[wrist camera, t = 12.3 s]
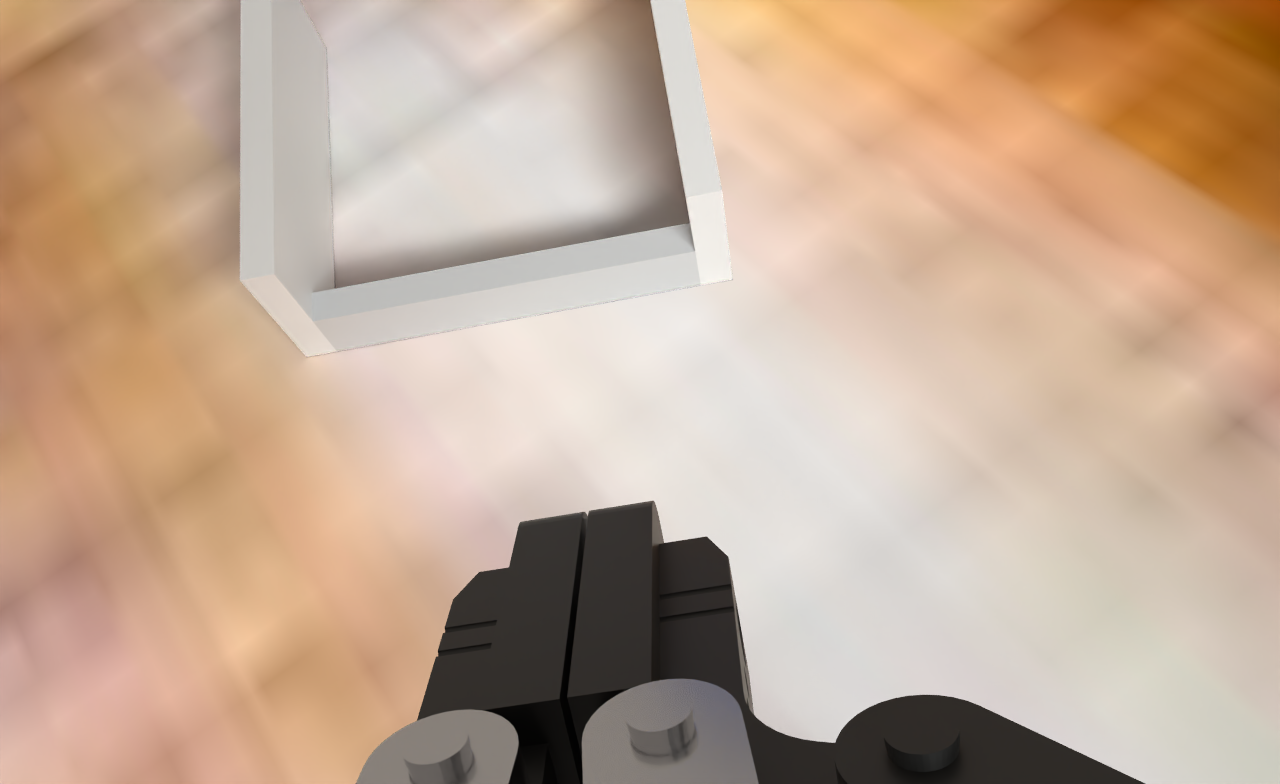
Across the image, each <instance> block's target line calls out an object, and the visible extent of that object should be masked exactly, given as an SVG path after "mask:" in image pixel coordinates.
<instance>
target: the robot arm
mask: <svg viewBox="0 0 1280 784" xmlns="http://www.w3.org/2000/svg"><path fill="white" fill-rule="evenodd" d="M356 784H1145V783H1143V782H1141V781H1138V780H1136V779H1134V778H1132V777H1130V776H1128V775H1126V774H1124V773H1121V772H1119V771H1117V770H1115V769H1113V768H1111V767H1109V766H1106V765H1104V764H1102V763H1100V762H1098V761H1096V760H1094V759H1092V758H1089V757H1087V756H1085V755H1083V754H1081V753H1079V752H1077V751H1075V750H1072V749H1070V748H1068V747H1066V746H1064V745H1062V744H1060V743H1058V742H1055V741H1053V740H1051V739H1049V738H1047V737H1045V736H1043V735H1041V734H1038V733H1036V732H1034V731H1032V730H1030V729H1028V728H1026V727H1024V726H1021V725H1019V724H1017V723H1015V722H1013V721H1011V720H1009V719H1007V718H1004V717H1002V716H1000V715H998V714H996V713H994V712H992V711H990V710H987V709H985V708H983V707H981V706H979V705H976V704H974V703H971V702H968V701H965V700H961V699H958V698H954V697H947V696H940V695H914V696H905V697H900V698H894V699H891V700H887V701H884V702H881V703H878V704H876V705H874V706H871V707H869V708H867V709H866V710H864V711H862V712H861V713H859V714H857V715H856V716H855V717H854V718H853V719H851V720H850V721H849V722H848V723H847V724H846V725H845V727H844V728H843V729H842V730H841V732H840V734H839V736H838V738H837V739H836V743H828V742H817V741H810V740H803V739H799V738H795V737H791V736H788V735H785V734H782V733H780V732H777V731H775V730H773V729H772V728H770V727H768V726H766V725H765V724H764V723H762V722H761V721H760V720H758V719H757V718H756V717H755V715H754V711H753V703H752V695H751V687H750V678H749V672H748V666H747V660H746V655H745V649H744V643H743V638H742V632H741V626H740V621H739V615H738V609H737V603H736V598H735V592H734V586H733V581H732V575H731V569H730V564H729V558H728V556H727V555H726V554H725V553H724V552H722V551H721V550H720V549H719V548H718V547H717V546H716V545H715V544H714V543H713V542H712V541H711V540H710V539H709V538H708V537H701V538H694V539H688V540H682V541H675V542H669V543H664V541H663V536H662V530H661V525H660V520H659V516H658V512H657V508H656V505H655V502H654V501H649V502H642V503H636V504H630V505H623V506H617V507H611V508H604V509H598V510H592V511H589V514H588V516H587V514H586V513H585V512H580V513H574V514H568V515H561V516H555V517H549V518H542V519H536V520H530V521H524V522H520V524H519V526H518V531H517V535H516V539H515V544H514V548H513V553H512V557H511V561H510V566H509V568H503V569H496V570H490V571H484V572H479V573H478V574H477V575H476V576H475V577H474V578H473V579H472V580H471V581H470V582H469V583H468V584H467V586H466V587H465V588H464V589H463V590H462V591H461V592H460V593H459V594H458V595H457V596H456V597H455V598H454V599H453V602H452V605H451V609H450V612H449V615H448V619H447V622H446V625H445V633H443V635H442V639H441V642H440V645H439V649H438V657H436V659H435V662H434V665H433V669H432V672H431V675H430V679H429V682H428V685H427V689H426V692H425V695H424V699H423V702H422V706H421V709H420V712H419V716H418V719H417V721H416V722H414V723H411V724H409V725H407V726H405V727H404V728H402V729H400V730H399V731H397V732H395V733H394V734H393V735H391V736H390V737H388V738H387V739H386V740H385V741H383V742H382V743H381V744H380V745H379V746H378V747H377V748H376V749H375V750H374V752H373V753H372V754H371V755H370V756H369V758H368V760H367V761H366V763H365V765H364V767H363V769H362V771H361V773H360V776H359V778H358V780H357V782H356Z"/></svg>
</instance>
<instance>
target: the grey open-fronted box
mask: <svg viewBox="0 0 1280 784" xmlns="http://www.w3.org/2000/svg"><path fill="white" fill-rule="evenodd" d="M650 4H651V10H652V15H653V21H654V26H655V32H656V37H657V43H658V49H659V54H660V60H661V65H662V71H663V77H664V82H665V88H666V93H667V99H668V104H669V110H670V116H671V121H672V127H673V132H674V138H675V143H676V149H677V155H678V160H679V166H680V171H681V177H682V182H683V188H684V194H685V199H686V205H687V210H688V216H689V222H690V223H686V224H681V225H676V226H670V227H665V228H659V229H654V230H649V231H643V232H638V233H632V234H627V235H622V236H616V237H611V238H605V239H600V240H595V241H589V242H584V243H578V244H573V245H568V246H562V247H557V248H551V249H546V250H541V251H535V252H530V253H524V254H519V255H514V256H508V257H503V258H497V259H492V260H487V261H481V262H476V263H470V264H465V265H460V266H454V267H449V268H443V269H438V270H433V271H427V272H422V273H416V274H411V275H406V276H400V277H395V278H390V279H384V280H379V281H373V282H368V283H363V284H357V285H352V286H346V287H341V288H336V289H335V278H334V249H333V220H332V192H331V163H330V134H329V106H328V77H327V49H326V47H325V45H324V43H323V41H322V39H321V38H320V36H319V34H318V32H317V30H316V28H315V27H314V25H313V23H312V21H311V19H310V17H309V16H308V14H307V12H306V10H305V8H304V6H303V5H302V3H301V1H300V0H241V15H240V281H241V283H242V284H243V285H244V286H245V287H246V288H247V289H248V291H249V292H250V293H251V294H252V295H253V296H254V297H255V299H256V300H257V301H258V302H259V303H260V304H261V305H262V307H263V308H264V309H265V310H266V311H267V312H268V314H269V315H270V316H271V317H272V318H273V319H274V320H275V322H276V323H277V324H278V325H279V326H280V327H281V328H282V330H283V331H284V332H285V333H286V334H287V335H288V336H289V338H290V339H291V340H292V341H293V342H294V343H295V345H296V346H297V347H298V348H299V349H300V350H301V351H302V353H303V354H304V355H305V356H306V357H310V356H315V355H321V354H326V353H332V352H337V351H343V350H348V349H354V348H359V347H365V346H370V345H376V344H381V343H387V342H392V341H398V340H403V339H409V338H414V337H420V336H425V335H431V334H436V333H442V332H447V331H453V330H458V329H464V328H469V327H475V326H480V325H486V324H491V323H497V322H502V321H508V320H513V319H519V318H524V317H530V316H535V315H541V314H546V313H552V312H557V311H563V310H568V309H574V308H579V307H585V306H590V305H596V304H601V303H607V302H612V301H617V300H623V299H628V298H634V297H639V296H645V295H650V294H656V293H661V292H667V291H672V290H678V289H683V288H689V287H694V286H700V285H705V284H711V283H716V282H722V281H727V280H733V277H732V269H731V261H730V252H729V244H728V236H727V227H726V219H725V211H724V202H723V194H722V188H721V182H720V177H719V172H718V167H717V162H716V157H715V152H714V146H713V141H712V136H711V131H710V126H709V121H708V116H707V111H706V105H705V100H704V95H703V90H702V85H701V80H700V75H699V70H698V64H697V59H696V54H695V49H694V44H693V39H692V34H691V29H690V23H689V18H688V13H687V8H686V3H685V0H650Z"/></svg>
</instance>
